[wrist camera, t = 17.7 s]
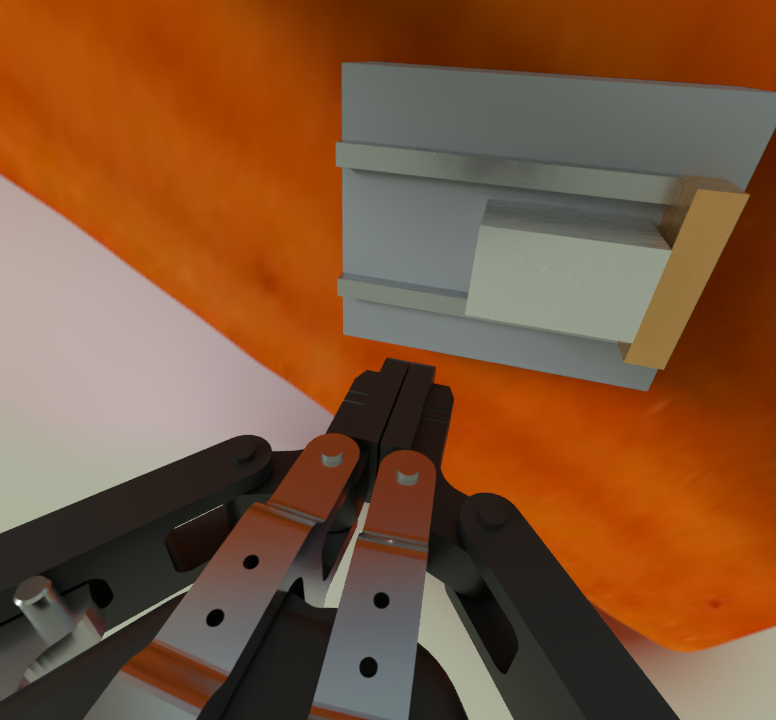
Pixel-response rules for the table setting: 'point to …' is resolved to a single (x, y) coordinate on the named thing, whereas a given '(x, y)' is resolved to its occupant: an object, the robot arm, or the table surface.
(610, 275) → the aluminium block
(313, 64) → the table surface
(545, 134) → the channel stand
